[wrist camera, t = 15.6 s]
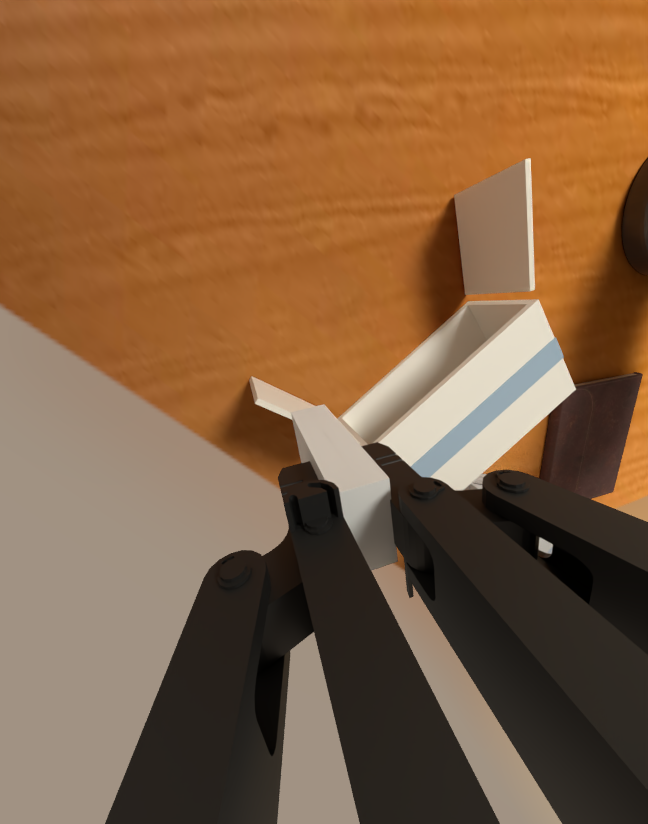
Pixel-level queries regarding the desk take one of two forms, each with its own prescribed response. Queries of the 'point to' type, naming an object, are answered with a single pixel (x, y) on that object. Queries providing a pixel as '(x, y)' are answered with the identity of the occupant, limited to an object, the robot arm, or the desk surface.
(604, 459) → the notebook
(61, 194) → the desk surface
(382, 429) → the carton
